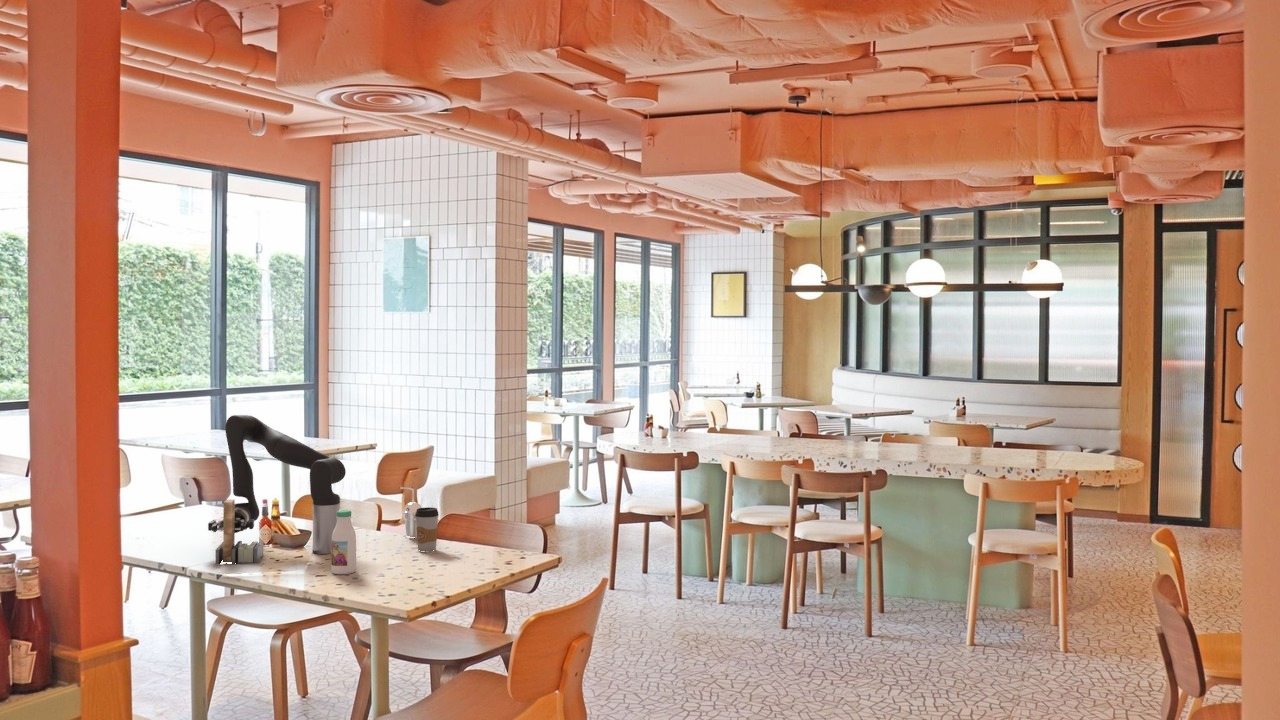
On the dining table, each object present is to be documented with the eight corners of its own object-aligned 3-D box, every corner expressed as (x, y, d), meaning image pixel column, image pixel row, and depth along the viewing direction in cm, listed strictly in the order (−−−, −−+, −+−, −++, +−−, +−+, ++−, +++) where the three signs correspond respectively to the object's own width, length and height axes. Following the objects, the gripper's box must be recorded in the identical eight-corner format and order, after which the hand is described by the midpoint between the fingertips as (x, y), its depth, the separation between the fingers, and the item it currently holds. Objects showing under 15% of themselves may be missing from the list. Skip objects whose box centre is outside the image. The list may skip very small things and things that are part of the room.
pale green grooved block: (257, 555, 334) (257, 541, 334) (253, 562, 325) (253, 547, 325) (242, 556, 333) (242, 541, 333) (237, 562, 323) (237, 547, 323)
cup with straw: (421, 540, 369) (421, 487, 368) (397, 539, 369) (397, 487, 368) (426, 535, 377) (426, 484, 377) (403, 535, 377) (403, 484, 377)
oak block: (234, 557, 331) (234, 499, 330) (231, 561, 325) (231, 502, 325) (226, 558, 330) (226, 499, 330) (223, 562, 324) (223, 502, 324)
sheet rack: (263, 557, 337) (263, 540, 337) (257, 566, 323) (257, 548, 323) (223, 558, 334) (223, 541, 334) (215, 567, 320) (215, 549, 320)
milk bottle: (347, 568, 321) (347, 508, 320) (360, 572, 316) (361, 510, 315) (326, 572, 315) (326, 511, 314) (340, 576, 310) (340, 513, 310)
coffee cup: (410, 551, 348) (410, 509, 348) (425, 547, 355) (425, 506, 355) (428, 553, 344) (428, 511, 344) (443, 549, 351) (443, 508, 351)
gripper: (214, 510, 340) (205, 518, 324) (257, 508, 343) (250, 516, 327) (214, 531, 340) (205, 540, 324) (257, 530, 343) (250, 538, 327)
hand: (228, 528), depth 326 cm, fingers open, 8 cm apart
